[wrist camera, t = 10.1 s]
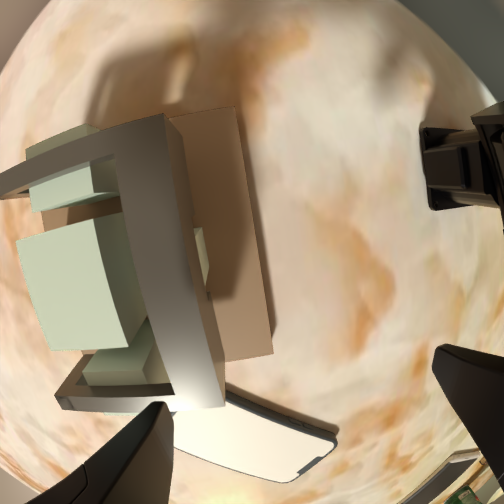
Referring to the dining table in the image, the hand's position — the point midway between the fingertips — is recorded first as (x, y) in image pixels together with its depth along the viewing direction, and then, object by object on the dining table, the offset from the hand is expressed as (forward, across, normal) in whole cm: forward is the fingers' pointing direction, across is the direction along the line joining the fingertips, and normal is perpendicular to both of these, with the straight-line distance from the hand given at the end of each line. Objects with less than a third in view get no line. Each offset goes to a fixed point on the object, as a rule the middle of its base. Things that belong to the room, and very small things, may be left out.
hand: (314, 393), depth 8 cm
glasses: (+8, +8, -3) cm, 11 cm away
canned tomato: (+12, -43, +68) cm, 81 cm away
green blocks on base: (+12, +8, -3) cm, 14 cm away
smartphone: (+13, -25, +51) cm, 58 cm away
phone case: (+12, +3, +16) cm, 20 cm away
